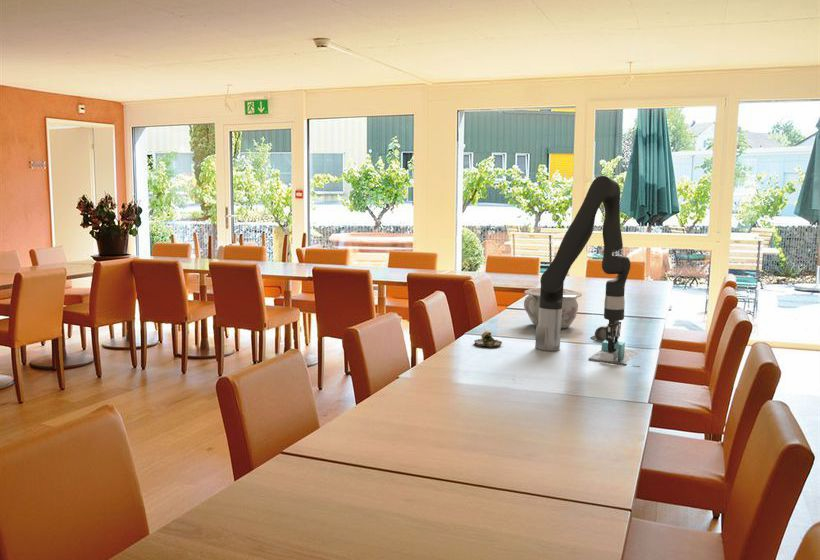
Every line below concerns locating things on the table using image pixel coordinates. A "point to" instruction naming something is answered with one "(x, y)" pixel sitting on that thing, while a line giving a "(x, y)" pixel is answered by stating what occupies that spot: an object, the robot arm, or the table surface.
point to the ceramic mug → (600, 333)
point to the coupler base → (617, 362)
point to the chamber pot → (567, 306)
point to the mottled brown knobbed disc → (486, 340)
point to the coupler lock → (617, 345)
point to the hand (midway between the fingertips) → (612, 349)
